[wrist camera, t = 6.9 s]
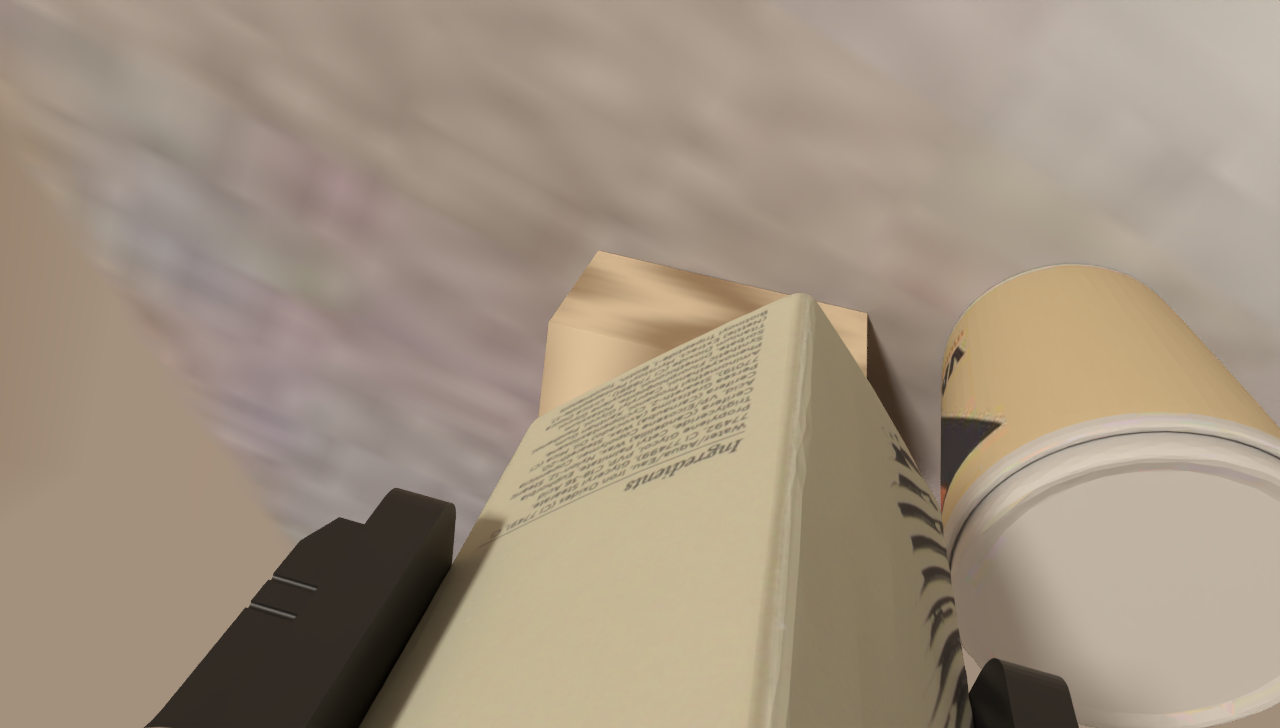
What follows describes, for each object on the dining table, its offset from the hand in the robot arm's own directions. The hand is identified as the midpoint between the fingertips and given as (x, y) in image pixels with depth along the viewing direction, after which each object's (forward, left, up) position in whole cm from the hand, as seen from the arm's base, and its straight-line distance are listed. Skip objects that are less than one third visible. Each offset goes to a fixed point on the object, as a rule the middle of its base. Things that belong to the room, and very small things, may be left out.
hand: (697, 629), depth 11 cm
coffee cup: (-10, +6, -22) cm, 25 cm away
